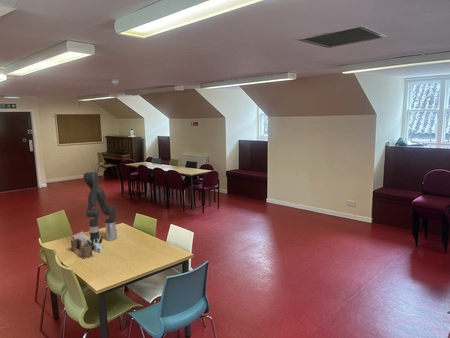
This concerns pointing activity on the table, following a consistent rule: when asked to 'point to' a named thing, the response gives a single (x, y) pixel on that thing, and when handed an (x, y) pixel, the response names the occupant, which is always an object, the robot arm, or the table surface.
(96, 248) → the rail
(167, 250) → the table surface
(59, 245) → the table surface
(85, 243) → the decorative molding
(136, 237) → the table surface
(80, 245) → the brown wooden block
